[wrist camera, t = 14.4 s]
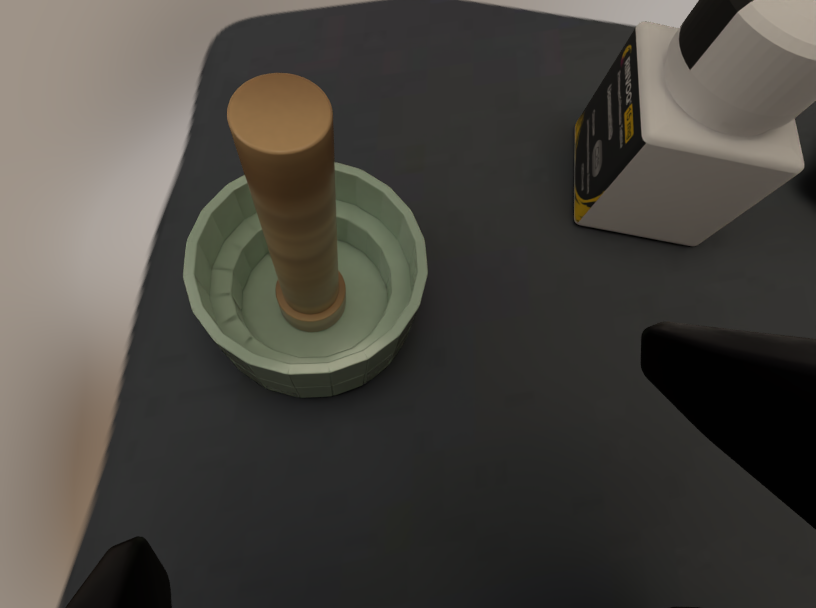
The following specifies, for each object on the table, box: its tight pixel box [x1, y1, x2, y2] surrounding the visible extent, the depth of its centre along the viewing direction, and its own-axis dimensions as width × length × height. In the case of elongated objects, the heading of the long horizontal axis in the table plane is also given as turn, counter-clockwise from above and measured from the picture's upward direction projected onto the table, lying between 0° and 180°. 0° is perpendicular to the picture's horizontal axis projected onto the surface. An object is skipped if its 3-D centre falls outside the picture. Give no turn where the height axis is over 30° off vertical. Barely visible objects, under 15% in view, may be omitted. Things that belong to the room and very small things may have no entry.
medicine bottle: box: [574, 0, 816, 246], centre depth 22 cm, size 7×7×12 cm
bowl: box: [183, 162, 428, 398], centre depth 20 cm, size 9×9×5 cm
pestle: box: [227, 73, 346, 332], centre depth 17 cm, size 3×3×12 cm
